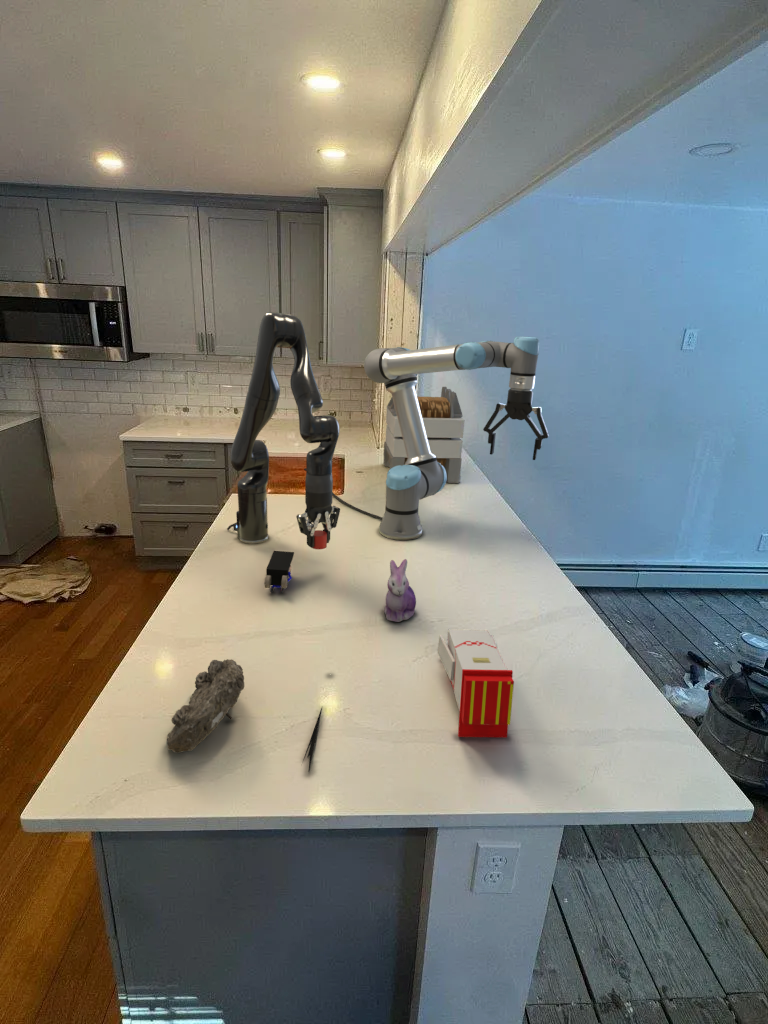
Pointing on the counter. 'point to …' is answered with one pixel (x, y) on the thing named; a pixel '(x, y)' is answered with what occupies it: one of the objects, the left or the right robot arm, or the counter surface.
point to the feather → (313, 740)
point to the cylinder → (320, 539)
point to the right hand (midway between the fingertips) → (512, 456)
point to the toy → (478, 682)
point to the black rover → (279, 570)
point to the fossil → (206, 705)
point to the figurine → (399, 594)
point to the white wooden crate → (430, 433)
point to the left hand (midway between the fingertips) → (318, 544)
